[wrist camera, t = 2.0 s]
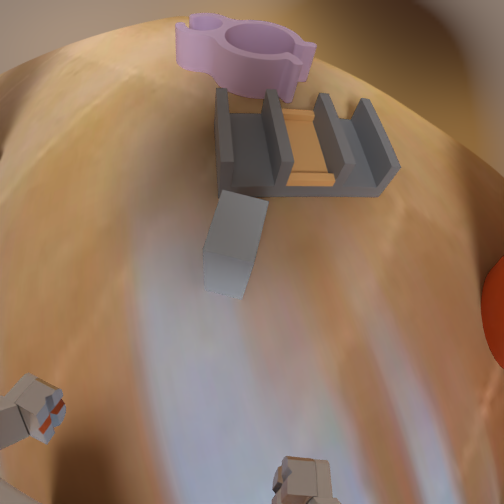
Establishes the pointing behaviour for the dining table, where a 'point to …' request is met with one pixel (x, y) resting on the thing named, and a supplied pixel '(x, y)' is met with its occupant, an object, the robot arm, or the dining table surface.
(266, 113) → the rack
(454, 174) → the dining table surface
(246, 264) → the tall grey pillar block
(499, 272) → the flowerpot
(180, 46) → the clip
